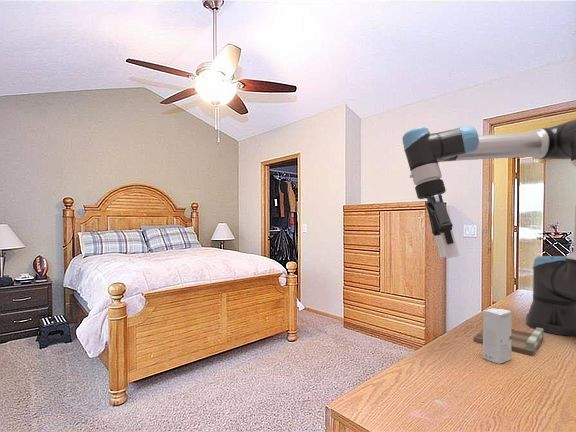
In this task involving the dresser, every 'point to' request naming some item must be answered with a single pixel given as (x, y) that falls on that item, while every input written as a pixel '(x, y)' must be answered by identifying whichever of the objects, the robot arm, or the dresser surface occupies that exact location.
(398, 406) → the dresser surface
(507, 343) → the skincare box
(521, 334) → the walnut board
